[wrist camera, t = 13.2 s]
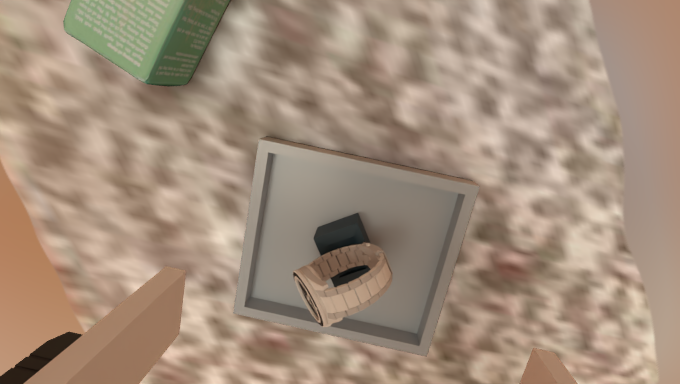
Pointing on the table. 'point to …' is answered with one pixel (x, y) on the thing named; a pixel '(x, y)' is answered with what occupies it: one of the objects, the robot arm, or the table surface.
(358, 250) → the watch
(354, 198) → the tray
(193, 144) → the table surface
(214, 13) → the box
